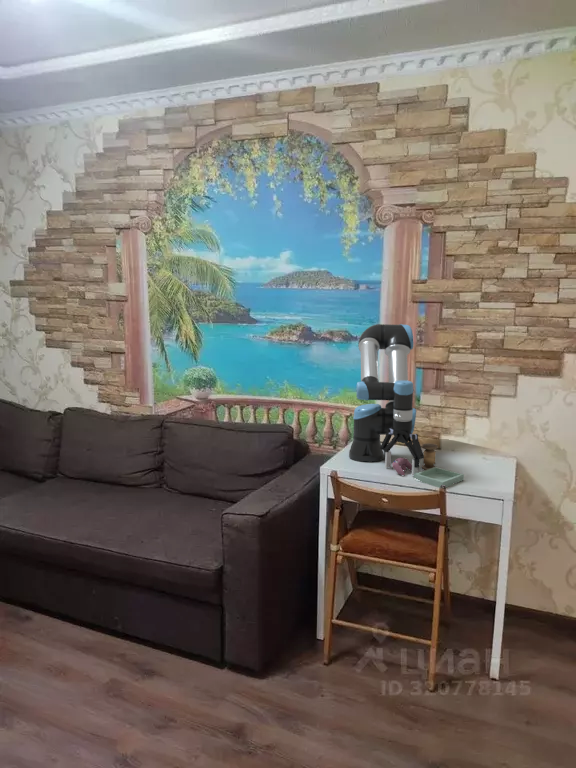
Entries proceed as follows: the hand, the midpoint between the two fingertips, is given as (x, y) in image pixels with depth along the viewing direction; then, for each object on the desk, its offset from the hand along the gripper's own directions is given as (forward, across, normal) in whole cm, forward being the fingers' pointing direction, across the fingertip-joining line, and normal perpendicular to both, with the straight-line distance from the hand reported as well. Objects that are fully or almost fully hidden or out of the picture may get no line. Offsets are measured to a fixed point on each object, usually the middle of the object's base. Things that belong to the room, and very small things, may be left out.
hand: (400, 471), depth 233 cm
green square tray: (0, +16, +3) cm, 16 cm away
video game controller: (+1, +1, 0) cm, 1 cm away
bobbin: (0, +5, +12) cm, 13 cm away
